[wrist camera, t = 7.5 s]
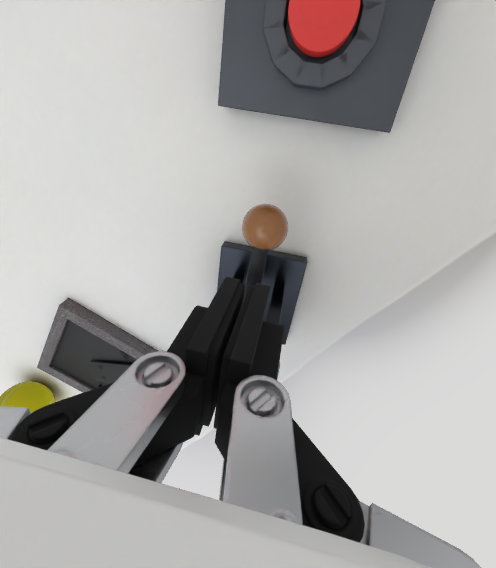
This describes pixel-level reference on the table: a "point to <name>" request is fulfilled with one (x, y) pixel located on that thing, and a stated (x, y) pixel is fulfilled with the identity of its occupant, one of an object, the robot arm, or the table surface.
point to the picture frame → (88, 348)
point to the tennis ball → (27, 396)
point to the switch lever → (262, 238)
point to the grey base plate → (321, 63)
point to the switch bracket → (268, 280)
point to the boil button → (321, 24)
